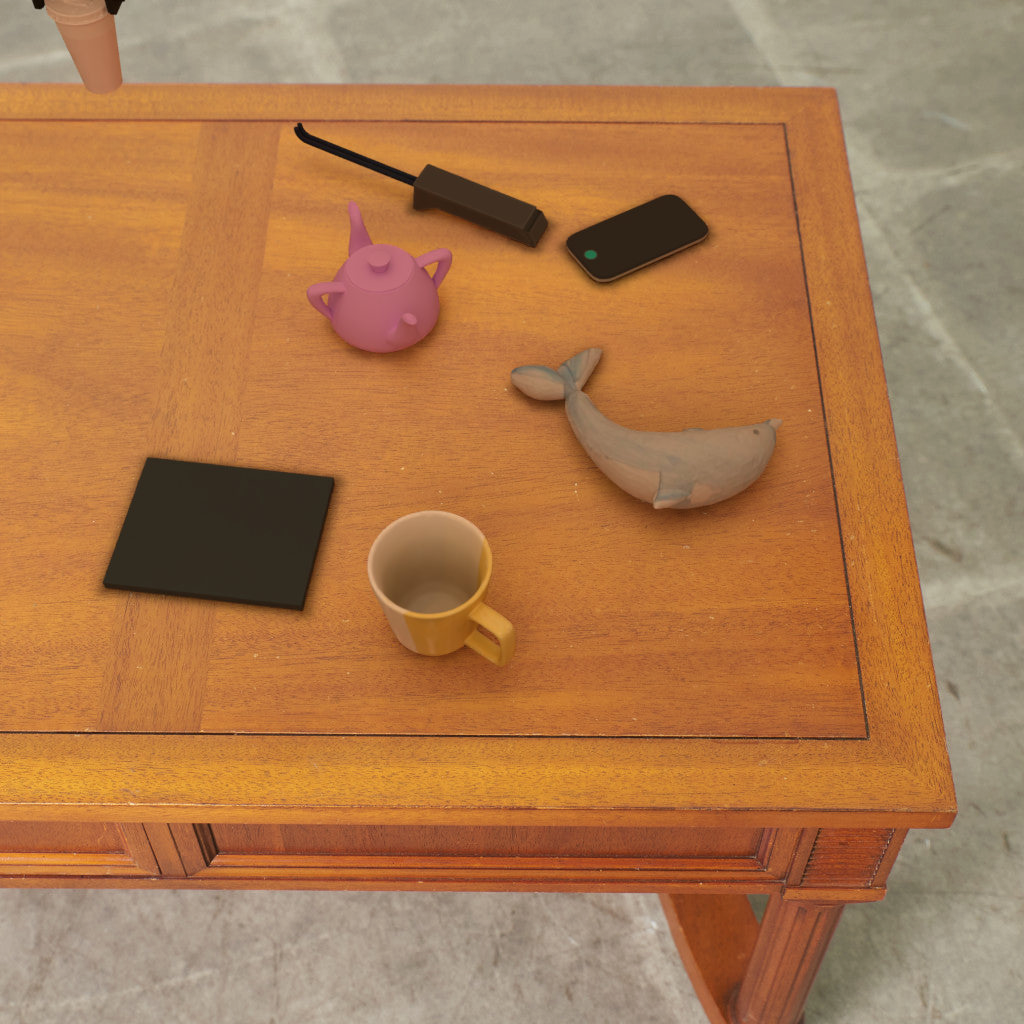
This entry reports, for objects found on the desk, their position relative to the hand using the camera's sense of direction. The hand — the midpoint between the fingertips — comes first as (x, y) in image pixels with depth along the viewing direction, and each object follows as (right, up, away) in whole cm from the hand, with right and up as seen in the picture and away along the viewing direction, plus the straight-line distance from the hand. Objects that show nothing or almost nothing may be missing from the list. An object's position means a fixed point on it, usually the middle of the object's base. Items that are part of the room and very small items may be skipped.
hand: (80, 1), depth 120 cm
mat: (+14, -50, -3) cm, 52 cm away
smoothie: (0, -5, +8) cm, 9 cm away
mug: (+35, -59, -9) cm, 69 cm away
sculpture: (+54, -39, +5) cm, 67 cm away
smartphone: (+54, -19, +19) cm, 60 cm away
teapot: (+28, -28, +12) cm, 41 cm away
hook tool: (+31, -13, +23) cm, 40 cm away
